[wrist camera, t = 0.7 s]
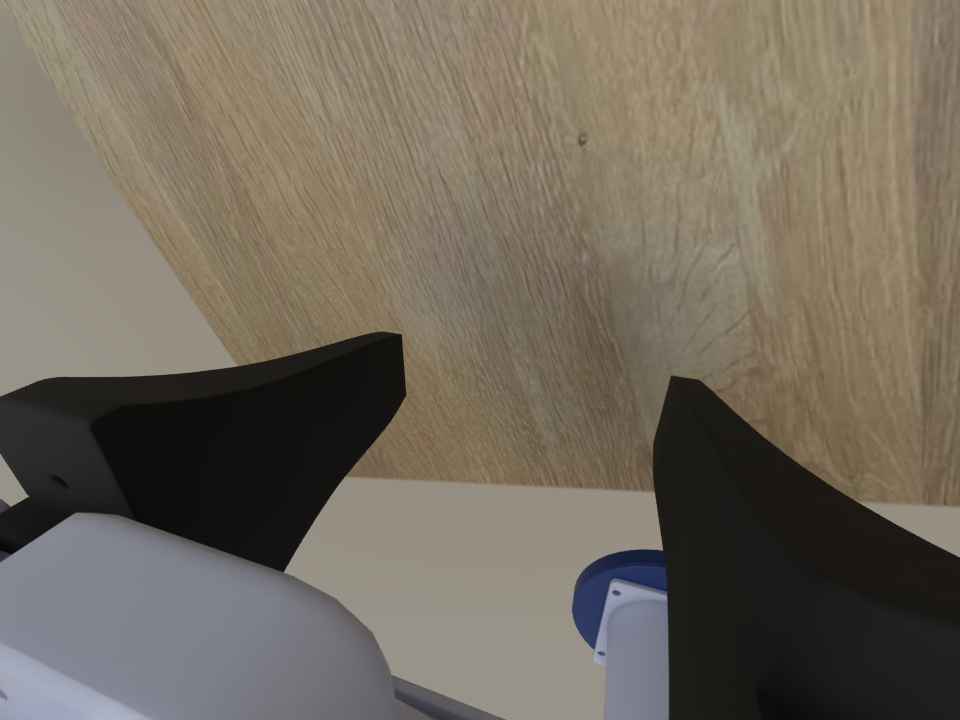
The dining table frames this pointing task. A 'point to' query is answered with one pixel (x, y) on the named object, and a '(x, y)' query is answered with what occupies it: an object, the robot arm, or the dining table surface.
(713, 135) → the dining table surface
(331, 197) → the dining table surface
